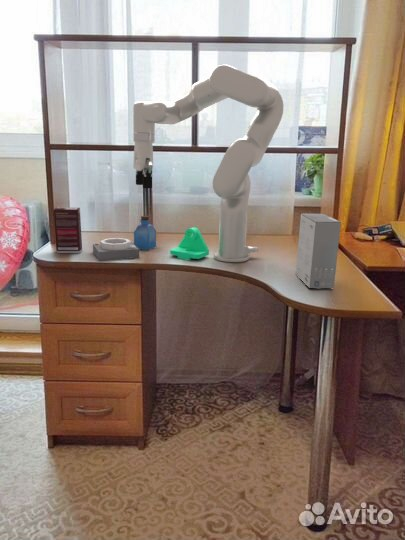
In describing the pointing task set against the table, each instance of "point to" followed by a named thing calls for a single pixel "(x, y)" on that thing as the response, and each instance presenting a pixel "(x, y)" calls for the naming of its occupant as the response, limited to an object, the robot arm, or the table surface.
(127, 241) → the camera body block
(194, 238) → the camera mount
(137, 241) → the perfume bottle
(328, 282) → the hard drive box
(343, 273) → the table surface
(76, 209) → the supplement box
